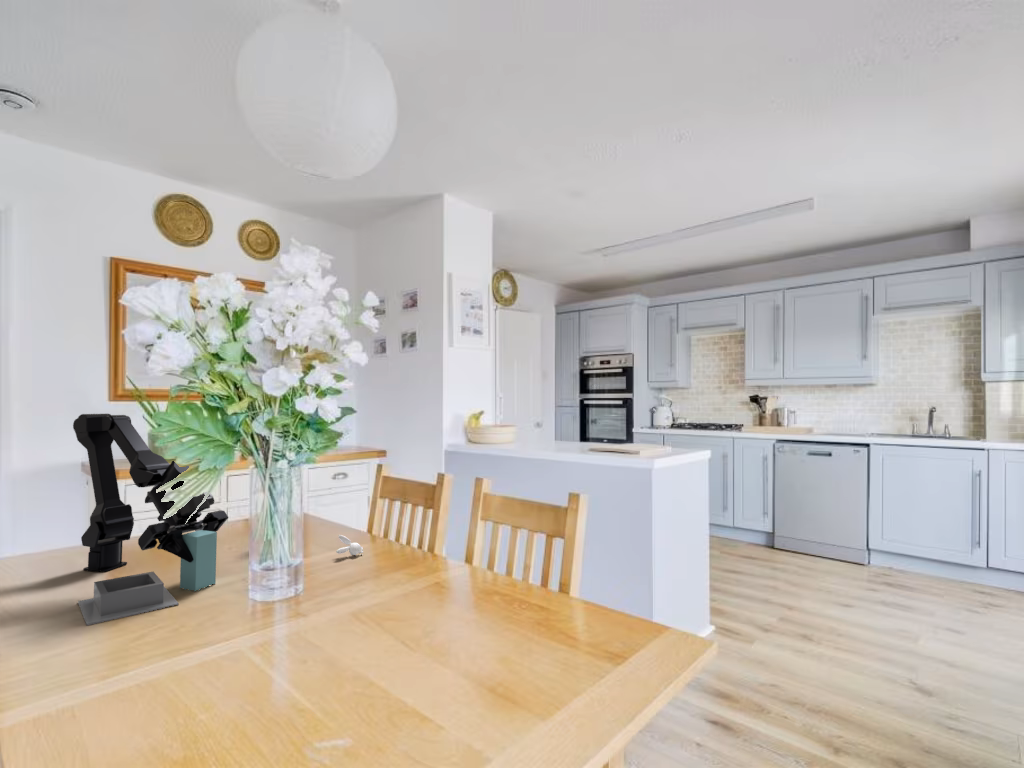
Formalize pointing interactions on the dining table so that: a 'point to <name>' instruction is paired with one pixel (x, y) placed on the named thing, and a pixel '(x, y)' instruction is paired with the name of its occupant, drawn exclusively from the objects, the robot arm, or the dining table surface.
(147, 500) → the robot arm
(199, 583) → the teal block
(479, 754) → the dining table surface
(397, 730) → the dining table surface
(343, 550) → the rabbit figurine
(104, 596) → the well
